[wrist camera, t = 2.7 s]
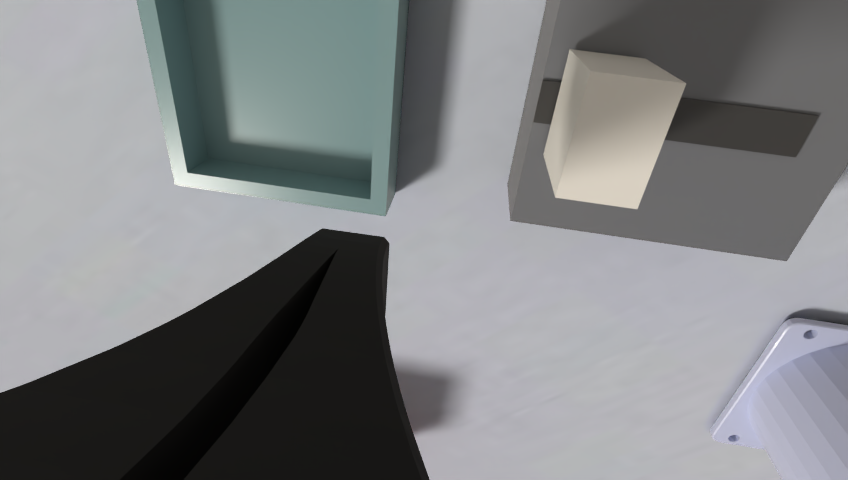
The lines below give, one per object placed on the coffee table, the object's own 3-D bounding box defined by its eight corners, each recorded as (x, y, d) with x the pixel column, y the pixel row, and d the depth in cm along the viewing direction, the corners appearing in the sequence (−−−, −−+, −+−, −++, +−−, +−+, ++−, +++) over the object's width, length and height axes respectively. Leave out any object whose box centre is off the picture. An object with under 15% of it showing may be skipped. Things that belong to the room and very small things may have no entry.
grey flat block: (872, -24, 13) (967, -21, 11) (743, 217, 17) (788, 262, 15) (559, -59, 14) (575, -65, 11) (507, 184, 18) (510, 222, 15)
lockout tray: (411, -41, 14) (401, -41, 13) (395, 193, 19) (385, 216, 17) (163, -70, 15) (121, -74, 13) (202, 165, 19) (174, 184, 17)
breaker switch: (645, 58, 12) (686, 83, 10) (610, 163, 14) (637, 209, 11) (569, 49, 12) (590, 71, 10) (543, 154, 14) (555, 197, 11)
